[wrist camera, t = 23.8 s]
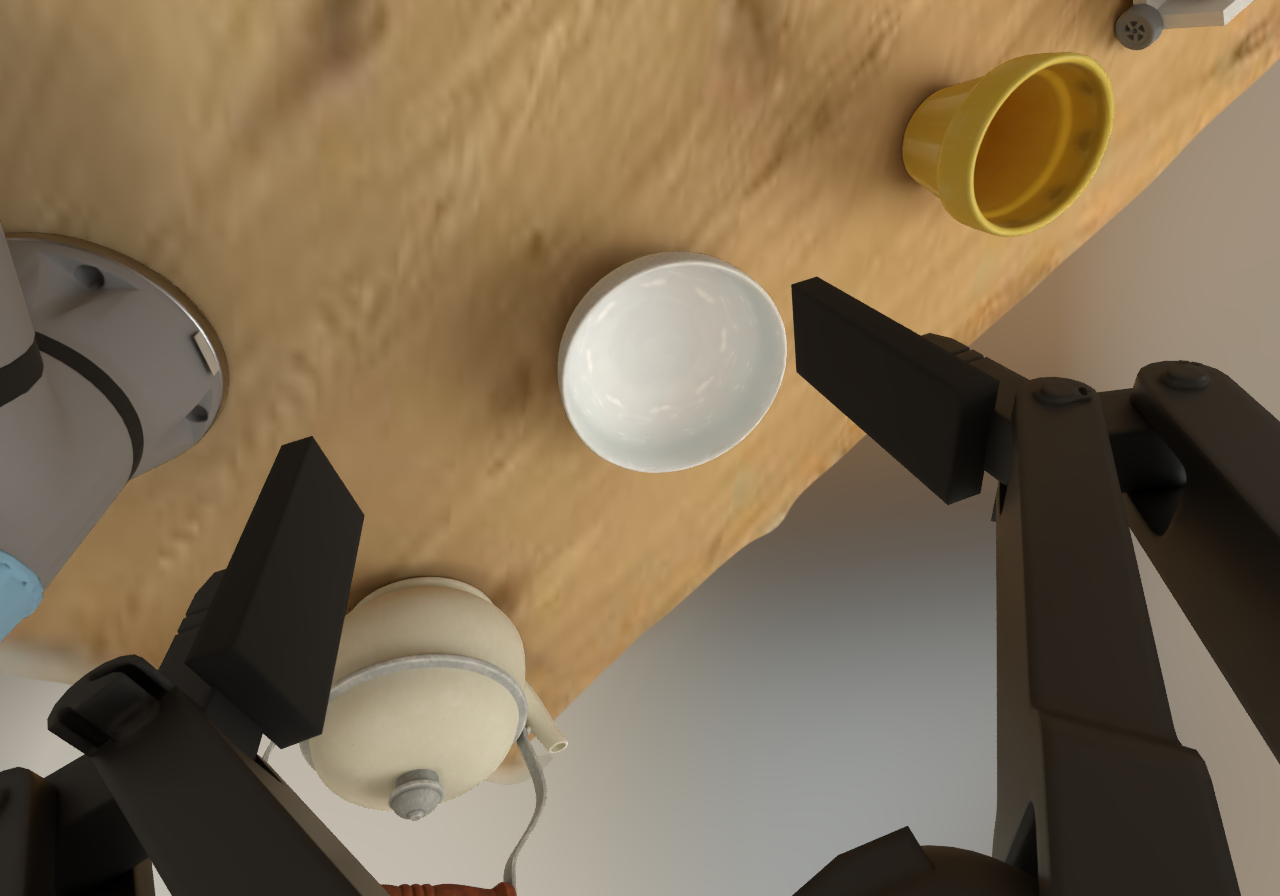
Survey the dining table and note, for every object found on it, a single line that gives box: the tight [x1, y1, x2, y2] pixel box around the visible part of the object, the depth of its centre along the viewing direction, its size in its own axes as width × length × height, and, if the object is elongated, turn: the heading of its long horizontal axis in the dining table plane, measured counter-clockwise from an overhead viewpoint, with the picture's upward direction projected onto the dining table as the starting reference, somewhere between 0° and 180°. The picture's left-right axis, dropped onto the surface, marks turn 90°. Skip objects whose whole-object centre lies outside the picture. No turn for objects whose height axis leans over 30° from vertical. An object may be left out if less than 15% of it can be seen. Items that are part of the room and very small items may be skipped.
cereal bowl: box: [557, 251, 787, 473], centre depth 45 cm, size 17×17×7 cm
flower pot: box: [902, 52, 1115, 237], centre depth 41 cm, size 10×10×10 cm
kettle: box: [262, 577, 568, 896], centre depth 48 cm, size 25×18×25 cm
